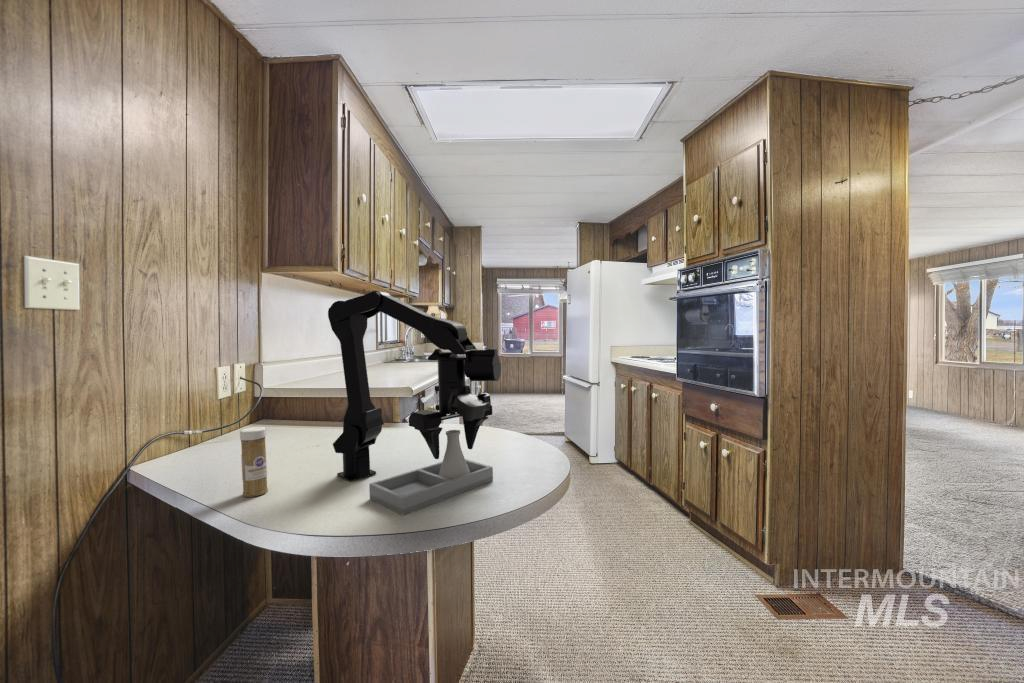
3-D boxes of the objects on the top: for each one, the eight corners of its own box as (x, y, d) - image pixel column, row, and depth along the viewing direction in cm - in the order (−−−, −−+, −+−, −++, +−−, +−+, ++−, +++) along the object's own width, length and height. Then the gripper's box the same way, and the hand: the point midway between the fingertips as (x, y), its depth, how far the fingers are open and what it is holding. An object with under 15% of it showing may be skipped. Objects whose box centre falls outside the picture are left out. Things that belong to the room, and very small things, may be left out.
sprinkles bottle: (254, 498, 87) (251, 431, 86) (237, 496, 88) (234, 430, 88) (273, 490, 91) (270, 426, 91) (256, 488, 93) (253, 425, 92)
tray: (369, 498, 85) (369, 483, 85) (458, 469, 102) (457, 456, 102) (403, 515, 78) (402, 498, 77) (492, 480, 94) (492, 466, 94)
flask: (475, 472, 96) (473, 427, 96) (465, 484, 89) (464, 435, 89) (444, 471, 98) (442, 427, 97) (432, 482, 91) (430, 435, 90)
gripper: (440, 389, 81) (442, 472, 81) (509, 379, 94) (511, 450, 95) (406, 385, 88) (408, 461, 89) (474, 376, 102) (476, 442, 102)
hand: (453, 453), depth 93 cm, fingers open, 9 cm apart
